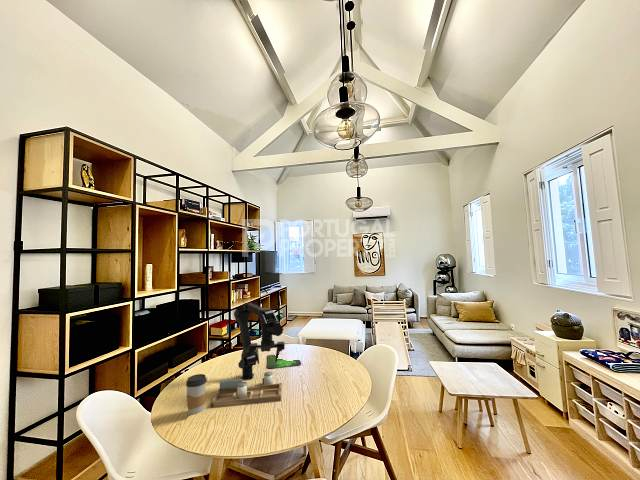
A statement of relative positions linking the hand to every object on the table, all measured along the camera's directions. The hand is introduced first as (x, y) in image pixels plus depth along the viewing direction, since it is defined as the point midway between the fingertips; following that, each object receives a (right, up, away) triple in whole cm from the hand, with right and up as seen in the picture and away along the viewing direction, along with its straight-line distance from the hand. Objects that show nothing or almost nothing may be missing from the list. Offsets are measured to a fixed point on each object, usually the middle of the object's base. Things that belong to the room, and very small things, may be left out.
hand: (267, 363), depth 139 cm
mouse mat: (+3, -16, +38) cm, 41 cm away
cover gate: (-17, -11, -6) cm, 21 cm away
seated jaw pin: (-9, -10, -15) cm, 20 cm away
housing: (-6, -11, -13) cm, 18 cm away
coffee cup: (-26, -11, -24) cm, 37 cm away
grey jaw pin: (+1, -12, -1) cm, 12 cm away
